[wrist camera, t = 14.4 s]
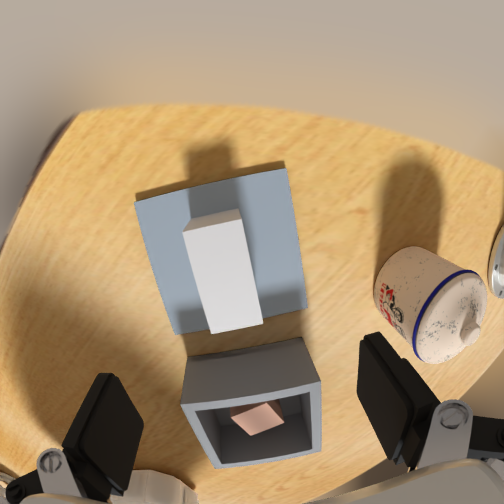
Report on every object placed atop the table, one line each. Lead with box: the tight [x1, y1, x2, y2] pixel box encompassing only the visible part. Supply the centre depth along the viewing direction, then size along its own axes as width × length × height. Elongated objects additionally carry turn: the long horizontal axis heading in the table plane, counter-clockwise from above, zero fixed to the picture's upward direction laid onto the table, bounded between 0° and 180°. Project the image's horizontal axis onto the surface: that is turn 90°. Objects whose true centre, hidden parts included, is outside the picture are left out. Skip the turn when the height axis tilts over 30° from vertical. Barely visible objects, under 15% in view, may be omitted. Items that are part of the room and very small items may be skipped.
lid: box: [134, 168, 308, 335], centre depth 23 cm, size 13×13×6 cm
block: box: [230, 399, 284, 436], centre depth 27 cm, size 4×4×4 cm
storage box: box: [180, 337, 322, 469], centre depth 27 cm, size 12×12×7 cm
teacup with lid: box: [374, 246, 487, 364], centre depth 23 cm, size 12×9×12 cm
